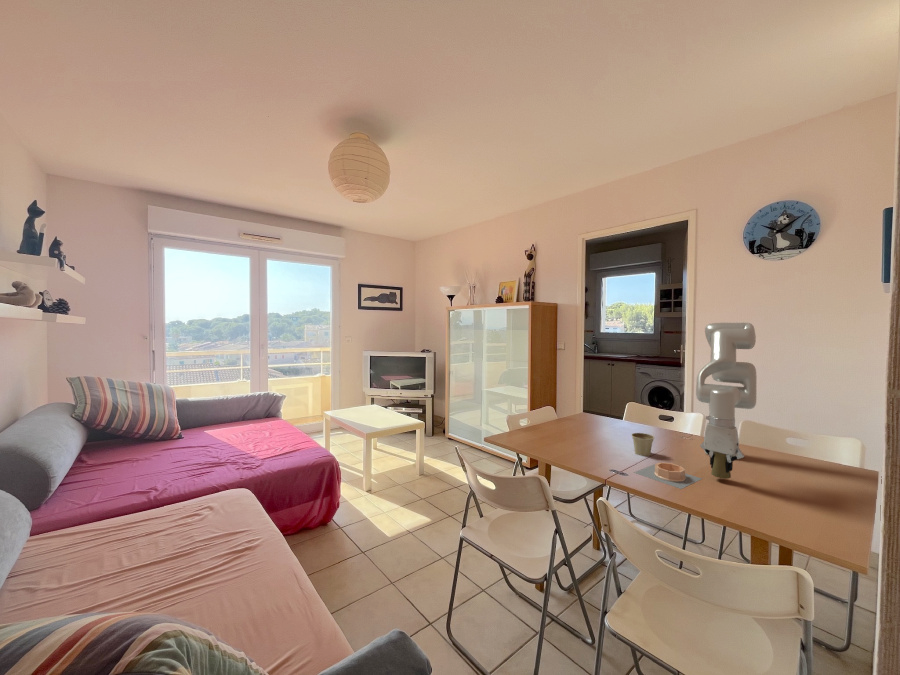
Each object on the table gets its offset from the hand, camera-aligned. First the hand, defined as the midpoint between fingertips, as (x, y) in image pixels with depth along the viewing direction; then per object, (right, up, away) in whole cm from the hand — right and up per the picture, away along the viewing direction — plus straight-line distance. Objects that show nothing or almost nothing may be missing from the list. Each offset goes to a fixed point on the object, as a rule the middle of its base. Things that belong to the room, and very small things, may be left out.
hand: (721, 469), depth 141 cm
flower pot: (-14, -4, +30) cm, 33 cm away
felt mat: (-17, -5, +5) cm, 19 cm away
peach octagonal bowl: (-17, -4, +4) cm, 18 cm away
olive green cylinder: (0, -3, 0) cm, 3 cm away
